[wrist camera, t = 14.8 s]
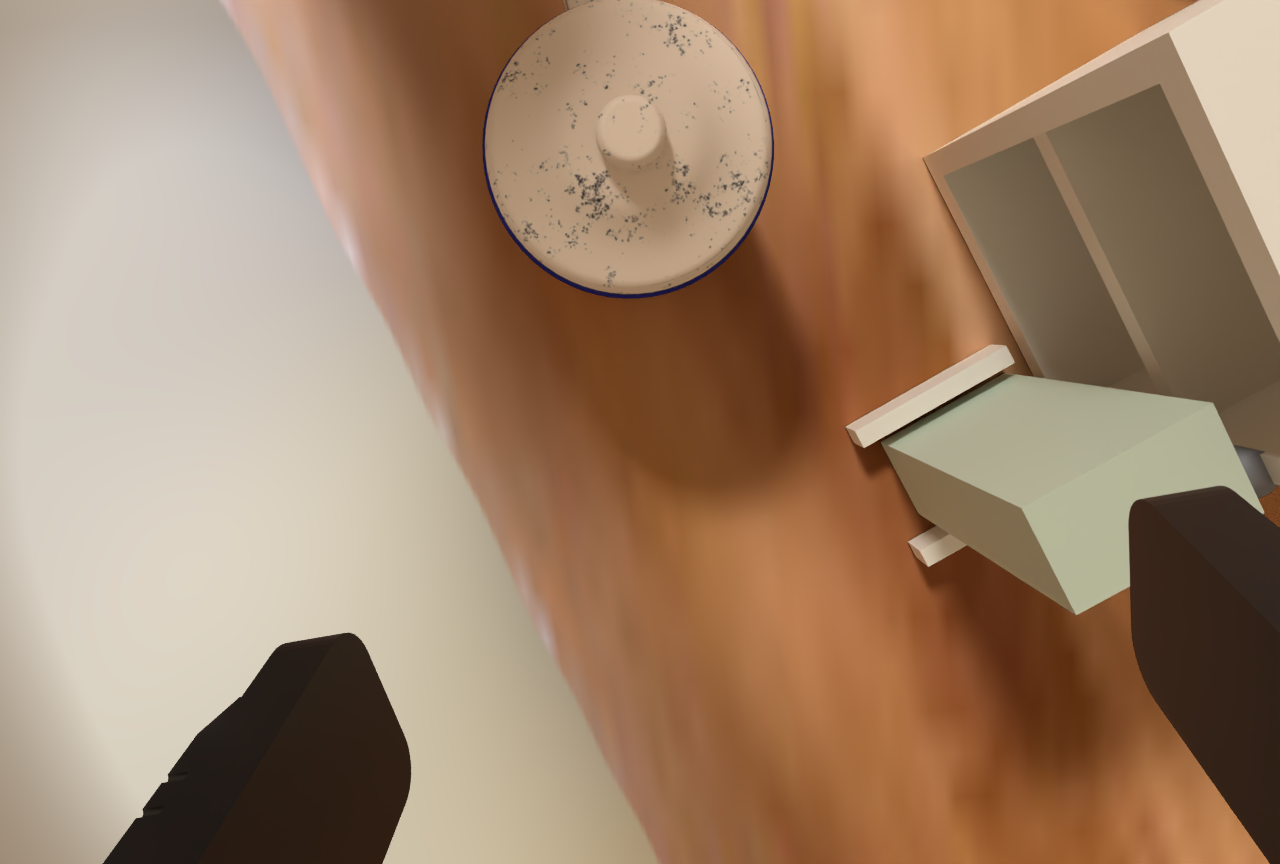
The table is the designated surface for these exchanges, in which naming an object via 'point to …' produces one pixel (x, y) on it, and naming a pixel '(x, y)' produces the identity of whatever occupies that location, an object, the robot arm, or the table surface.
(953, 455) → the door
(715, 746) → the table surface
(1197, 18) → the cabinet
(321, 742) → the robot arm
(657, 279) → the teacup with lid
